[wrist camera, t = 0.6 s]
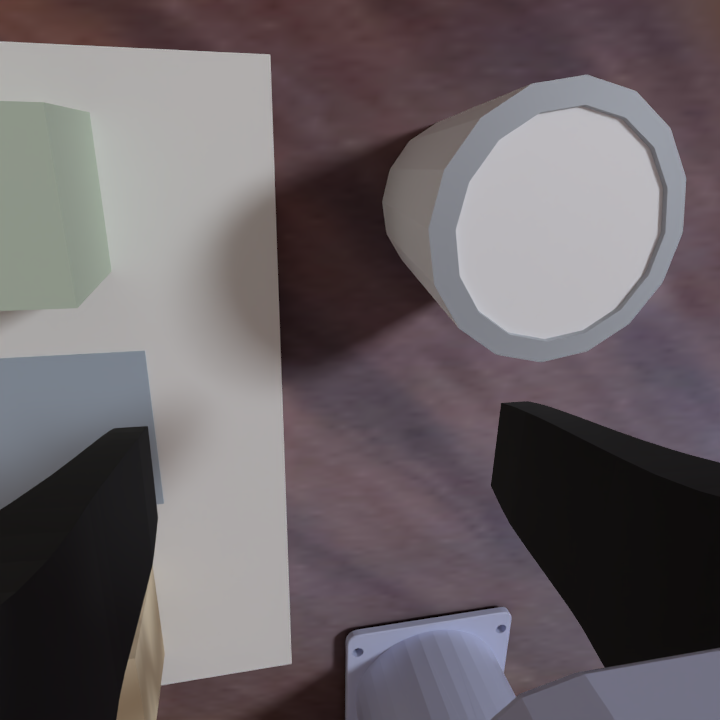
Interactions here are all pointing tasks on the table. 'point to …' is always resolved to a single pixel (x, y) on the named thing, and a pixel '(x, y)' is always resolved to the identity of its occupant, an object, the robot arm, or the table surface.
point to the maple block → (144, 663)
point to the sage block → (49, 208)
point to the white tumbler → (540, 214)
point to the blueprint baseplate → (170, 335)
